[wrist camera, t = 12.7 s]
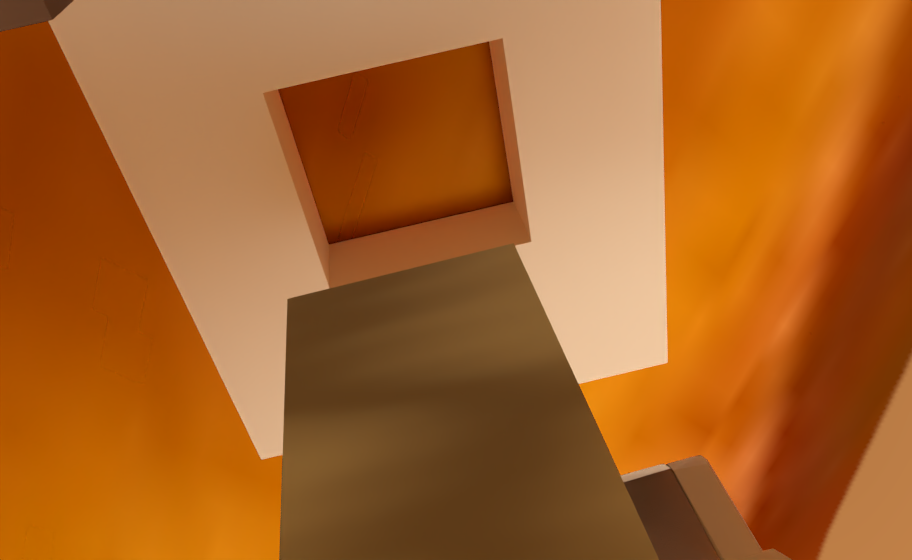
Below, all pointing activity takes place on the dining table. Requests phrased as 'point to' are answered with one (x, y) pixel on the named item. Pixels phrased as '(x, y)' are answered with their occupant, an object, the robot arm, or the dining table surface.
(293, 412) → the block
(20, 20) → the cover
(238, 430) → the dining table surface
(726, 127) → the dining table surface
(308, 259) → the puzzle board
